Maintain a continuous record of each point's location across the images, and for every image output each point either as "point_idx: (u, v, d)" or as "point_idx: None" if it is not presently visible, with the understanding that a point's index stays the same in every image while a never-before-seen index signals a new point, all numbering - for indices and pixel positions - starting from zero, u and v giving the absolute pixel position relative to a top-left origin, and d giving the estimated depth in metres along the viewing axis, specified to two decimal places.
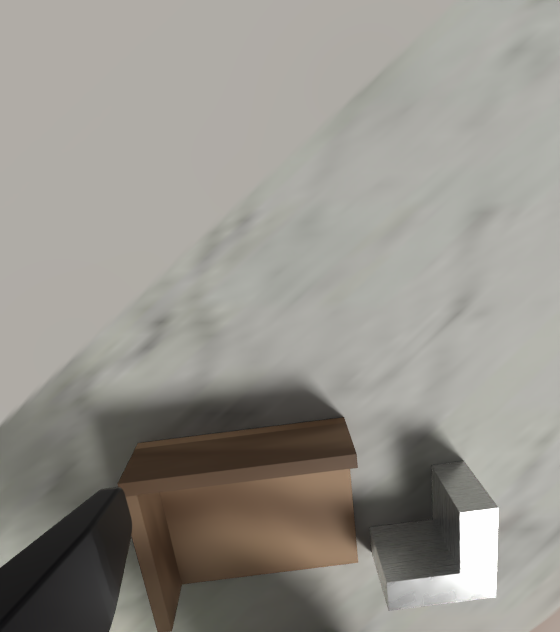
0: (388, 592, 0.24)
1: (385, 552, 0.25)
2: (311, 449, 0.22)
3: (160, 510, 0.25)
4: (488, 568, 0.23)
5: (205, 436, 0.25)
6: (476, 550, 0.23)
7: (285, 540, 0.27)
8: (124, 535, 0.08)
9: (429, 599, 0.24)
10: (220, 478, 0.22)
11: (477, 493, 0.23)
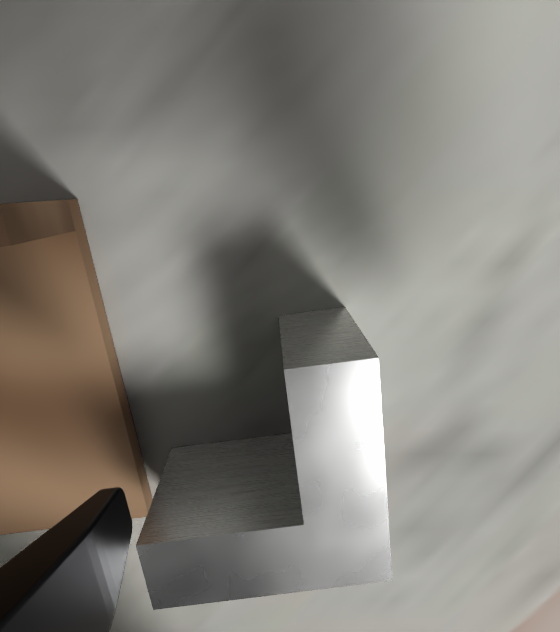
0: (145, 568, 0.10)
1: (172, 488, 0.12)
2: None
3: None
4: (369, 514, 0.10)
5: None
6: (334, 468, 0.10)
7: None
8: (124, 535, 0.08)
9: (242, 585, 0.11)
10: None
11: (344, 341, 0.10)
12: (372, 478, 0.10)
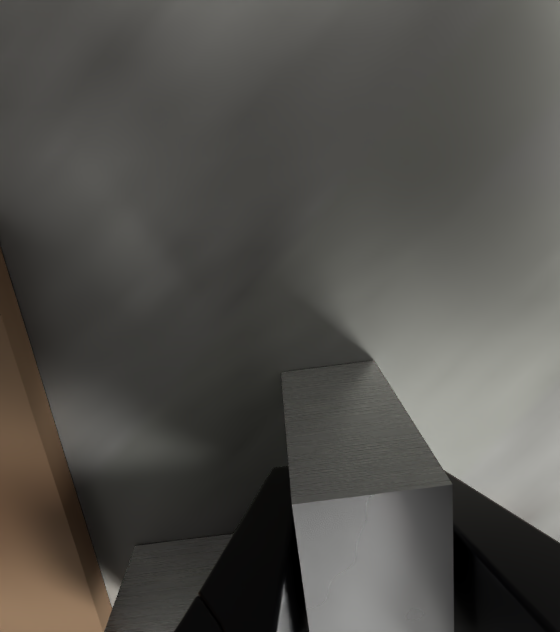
0: None
1: (128, 626, 0.08)
2: None
3: None
4: None
5: None
6: None
7: None
8: None
9: None
10: None
11: (385, 436, 0.06)
12: None
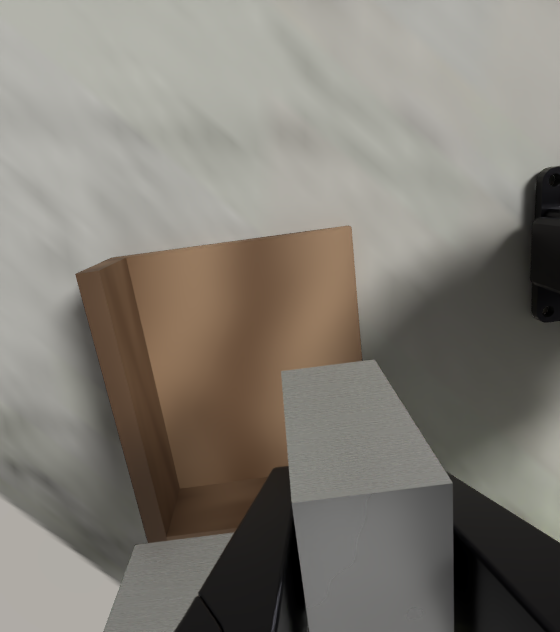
0: None
1: (128, 625, 0.08)
2: None
3: (243, 487, 0.20)
4: None
5: None
6: None
7: (304, 335, 0.19)
8: None
9: None
10: (133, 448, 0.17)
11: (385, 435, 0.06)
12: None
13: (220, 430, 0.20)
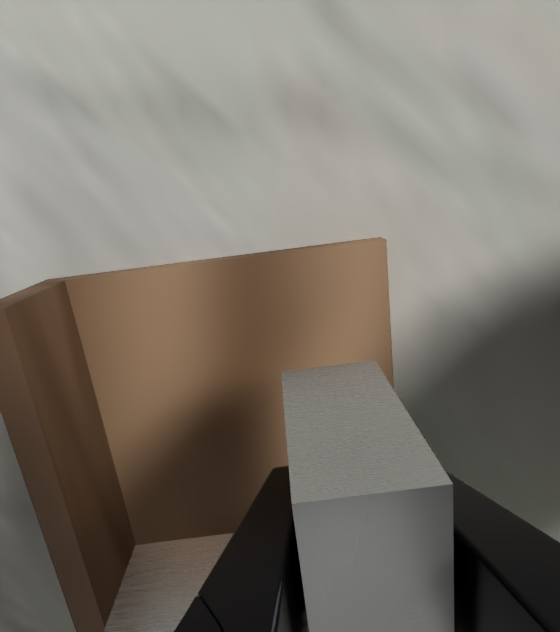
0: None
1: (127, 626, 0.08)
2: None
3: None
4: None
5: None
6: None
7: None
8: None
9: None
10: (68, 561, 0.11)
11: (385, 435, 0.06)
12: None
13: (200, 512, 0.15)
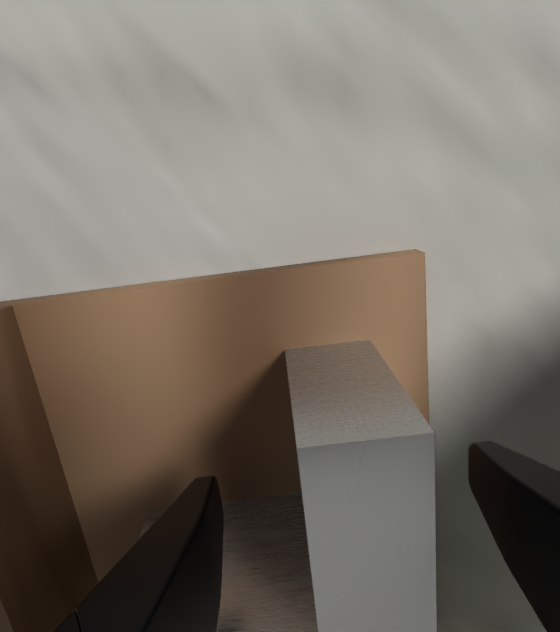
0: None
1: None
2: None
3: None
4: None
5: None
6: (365, 580, 0.07)
7: None
8: (221, 523, 0.08)
9: None
10: None
11: (377, 398, 0.07)
12: (417, 592, 0.07)
13: None
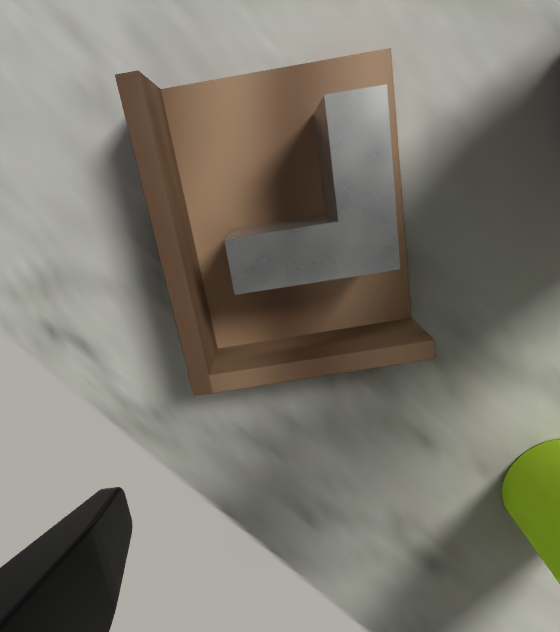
0: (229, 259, 0.15)
1: (240, 231, 0.17)
2: None
3: (282, 342, 0.20)
4: (383, 213, 0.15)
5: None
6: (358, 174, 0.14)
7: None
8: (124, 535, 0.08)
9: (295, 273, 0.15)
10: (175, 274, 0.16)
11: None
12: (384, 182, 0.15)
13: None
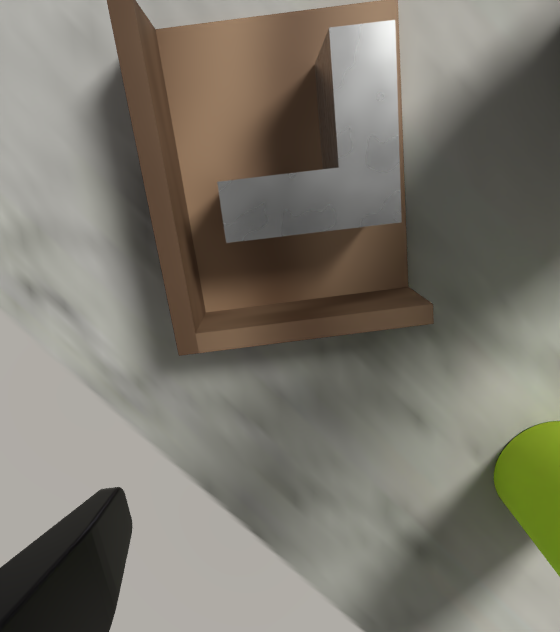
0: (222, 204, 0.14)
1: None
2: None
3: (273, 306, 0.19)
4: (386, 160, 0.14)
5: None
6: (362, 117, 0.14)
7: None
8: (124, 535, 0.08)
9: (291, 222, 0.15)
10: (163, 221, 0.15)
11: None
12: (388, 126, 0.14)
13: (250, 243, 0.19)
